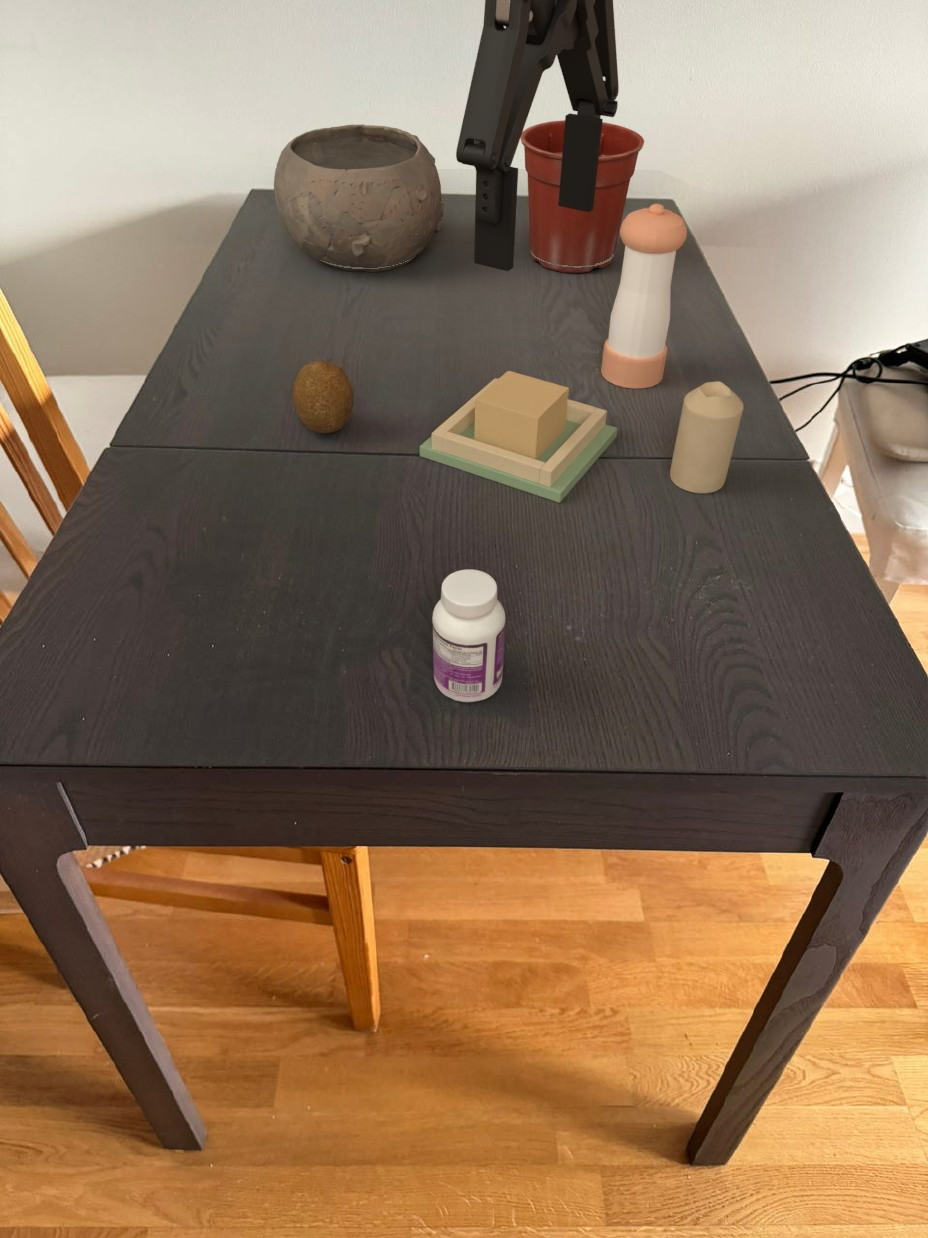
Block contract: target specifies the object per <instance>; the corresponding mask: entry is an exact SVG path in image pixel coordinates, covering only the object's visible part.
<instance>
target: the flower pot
mask: <svg viewBox="0 0 928 1238" xmlns="http://www.w3.org/2000/svg"><path fill="white" fill-rule="evenodd" d="M564 128H565V119H563V120H552V121H546V122H541V123H538V124H535V125H531V126H529V127H527V128H526V129H525V128H524V129H523V132H522V135H521V137H520V141H521V144H522V145H523V149H524V168H525V171H526V173H527V196H528V197H527V198H528V199H527V200H528V225H529V226H528V228H529V229H528V230H529V231H528V232H529V234H528V235H529V255H530V258H531V260H532V261H533V262H538V263H539V264H540V265H541V267H543V268H545V269H548V270H550V271H555V272H559V273H564V274H565V273H566V274H567V273H568V274H582V273H589V272H592V270H593V269H595V268H597V269H599V270H602V269H605V268H606V267H608V266H609V265H611V263H612V262H613V261H614V258H615V256H614V257H613V258H612V259H611V260H610V261H608V262H606V263H604V264H601V265H597V266H592V267H581V268H574V267H562V266H557V265H552V264H548V263H546V262H543V261H541V260H539V259H537V258H535V257H534V256H533V255H532V254H531V252H530V250H531V251H532V253H533V254H534V255H535V256H536V257H538V258H540V259H542V260H544V261H547V262H551V263H555V264H559V265H568V266H586V265H595V264H596V263H600V262H603V261H605V260H607V259H609V258H610V257H612V255H613V254H614V253H616V250H617V249H616V248H617V245H618V238H619V235H620V228H621V225H622V222H623V221H622V220H623V216H624V212H625V211H624V210H625V207H626V203H627V202H626V201H627V198H628V192H629V187H630V182H631V178H633V176H634V174H635V170H636V166H637V160H638V157H639V152H640V151H641V150H642V149H643V147H644V144H645V139H644V137H643V136H642V135H641V134H639V133H638V132H636V131H635V130H632V129H630V128H628V127H626V126H621V125H619V124H614V123H609V122H603V121H602V131H601V140H600V150H599V159H598V169H597V178H596V187H595V197H594V206H593V210H592V211H590V212H585V211H581V210H576V209H571V208H566V207H561V206H558V202H559V190H560V177H561V165H562V153H563V140H564ZM614 255H615V254H614Z"/></svg>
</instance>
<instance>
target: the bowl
mask: <svg viewBox="0 0 928 1238" xmlns="http://www.w3.org/2000/svg"><path fill="white" fill-rule="evenodd" d="M273 177H274V178H273V194H274V203H275V205H276V209H277V213H278V216H279V219H280V221H281V223H282V225H283V228H284V229H285V231H286V232H287V233H288V236H289V237H290V239H292V241H293V242H294V243H295V245H296V246H297V247H298V249H300V250H301V251H303V252H304V253H305V254H307V255H308V254H309V255H308V256H310V257H312V256H313V257H312V258H314V257H315V258H314V259H316V258H317V259H319V260H322V261H325V262H328V263H332V264H336V265H342V266H350V267H363V268H378V267H385V266H391V267H385V268H379V269H352V268H344V267H339V266H334V265H330V264H327V263H324V262H322V263H323V264H325V265H327V266H330V267H333V268H335V269H336V268H337V269H339V270H344V271H348V272H368V273H379V272H386V271H390V270H393V269H397V268H400V267H403V266H405V265H407V264H408V263H410V262H411V261H413V260H414V259H416V257H417V256H418V255H419V254H420V253H421V252H422V251H424V249H425V247H426V246H427V245H428V243H429V242H430V240H431V239H432V237H433V234H434V233H439V231H440V230H441V222H442V220H443V217H444V210H445V206H446V205H445V204H444V203H442V185H441V180H440V174H439V171H438V168H437V166H436V158H435V157H434V156H433V154H432V153H430V151H429V149H428V148H427V146H426V145H425V144H424V143H423V142H422V141H421V140H420V138H419V136H418V135H415V134H412V133H410V132H408V131H407V130H402V129H401V128H397V127H390V126H385V125H375V124H374V125H372V124H371V125H369V124H368V125H367V124H364V123H363V124H346V125H339V126H330V127H324V128H316V129H313V130H310V131H306V132H303V133H301V134H300V135H297V136H295V137H294V138H293V139H292V140H289V142H287V144H286V145H285V146H284V147H283V149H282V150H281V151H280V155H279V157H278V160H277V163H276V167H275V170H274V176H273ZM417 254H418V255H417ZM416 255H417V256H416ZM413 257H414V258H413ZM412 258H413V259H412ZM317 259H316V260H317ZM410 259H411V260H410ZM319 260H318V261H319ZM407 260H409V261H407ZM405 261H407V262H405ZM403 262H404V263H403ZM399 263H402V264H399ZM396 264H398V265H396ZM392 265H395V266H392Z"/></svg>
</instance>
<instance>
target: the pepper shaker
mask: <svg viewBox="0 0 928 1238" xmlns="http://www.w3.org/2000/svg"><path fill="white" fill-rule="evenodd" d="M622 220H623V221H622V222H621V225H620V230H619V235H620V236H619V237H620V240H621V242H622V243H623V245H624V246H625V247H624V252H623V253H624V254H623V261H622V267H621V273H620V280H619V281H620V282H619V285H618V289H617V292H616V296H615V299H614V303H613V305H612V310H611V314H610V318H609V329H608V337H607V339H606V340H605V341H604V345H603V351H602V358H601V359H602V360H601V368H600V373H601V376H602V377H603V378H604V379H605V380H606V381H607V382H609V383H611V384H613V385H615V386H618V387H621V388H627V389H636V390H637V389H647V388H652V387H654V386H656V385H658V384H660V383H661V382H662V381H663V378H664V374H665V373H664V372H665V368H666V367H665V366H666V360H667V356H668V350H669V349H668V346H667V344H666V341H667V337H668V332H669V326H670V322H671V289H672V286H671V285H672V278H673V273H674V266H675V261H676V255H677V254H676V253H677V251H678V250H679V249H680V248H681V247H682V246H683V245H684V243H685V241H686V239H687V235H688V230H687V225H686V223H685V221H684V219H683V218H682V216H680V215H678V214H677V213H675V212H674V211H671V210H669V209H667V208H665V206H664V205H662V204H660V203H653V204H651V205H650V206H649V207H644V208H641V209H640V208H639V209H637V210H633V211H631V212H630V213H628V214H627V215H626V216H625V218H624V219H622Z"/></svg>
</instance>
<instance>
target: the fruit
mask: <svg viewBox="0 0 928 1238" xmlns="http://www.w3.org/2000/svg"><path fill="white" fill-rule="evenodd" d="M350 382H351V381H350V379H349V377H348V375H347V374H346V372H345V370H344V369H342V368H341V367H340V366H339V365H337V363H335V362H332V361H327V360H317V361H312V362H310V363H309V362H308V363H307V364H305V365H304V366H303V367H302V368H301V369H300V371H299V372H298V374H297V376H296V378H295V381H294V383H293V387H292V401H293V405H294V409H295V411H296V414H297V417H298V419H299V420H300V421H301V423H302V424H303V425H304V426H305V427H306V428H307V429H308V430H310V431H312V432H314V433H318V434H324V435H325V434H326V435H327V434H332V433H335V432H338V431H340V430H341V429H342V428H343V427H345V426H346V425H347V423H348V421H349V419H350V418H351V415H352V411H353V407H354V401H355V400H354V399H355V398H354V392H353V391H354V390H353V387H352V384H351V383H350Z"/></svg>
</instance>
